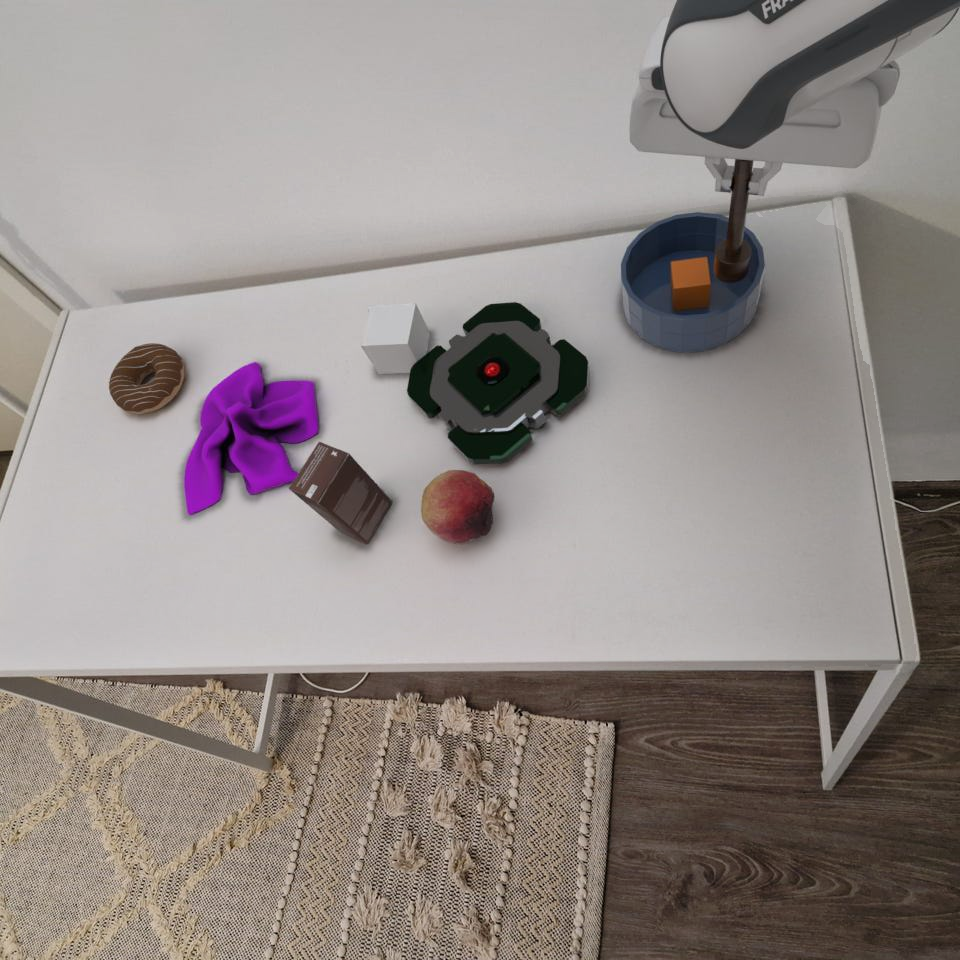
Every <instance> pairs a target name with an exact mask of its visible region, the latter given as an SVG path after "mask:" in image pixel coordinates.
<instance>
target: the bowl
mask: <svg viewBox="0 0 960 960" xmlns="http://www.w3.org/2000/svg"><path fill="white" fill-rule="evenodd" d="M728 221H729V216H725V215H722V214H719V213H710V212H702V211H695V212H687V213H680V214H674V215H671V216H669V217H666V218H663V219H661V220H658V221H656V222H654V223H653V224H651V225H649V226H648V227H646V228H645V229H643V230H642V231H640V232H639V233H638V234H637V235H636V236H635V238H634V239H633V240H632V241H631V242H630V244H629V245H628V246H627V247H626V249H625V251H624V255H623V256H622V259H621V261H620V281H621V295H622V307H623V312H624V315H625V318H626V320H627V321H626V322H627V323H628V325H629V327H630V328H631V329H632V331H633V332H634V333H635V334H636V335H637V336H638V337H639V338H641V340H643V341H645V342H647V343H648V344H650V345H652V346H654V347H656V348H659V349H662V350H666V351H669V352H675V353H676V352H677V353H678V352H679V353H695V352H696V353H697V352H698V353H699V352H702V351H703V352H704V351H708V350H711V349H715V348H717V347H720V346H722V345H725V344H726V343H729V342H730V341H731V340H733V339H734V338H736V337H737V336H739V335H740V334H741V333H742V332H743V331H744V330H745V329H746V328H747V327H748V326H749V324H750V323H751V321H752V319H753V318H754V317H755V314H756V311H757V309H758V303H759V301H760V298H761V297H760V296H761V291H762V285H763V279H764V274H765V269H766V261H765V253H764V248H763V246H762V244H761V243H760V241H759V239H758V238H757V236H756V234H755V233H754V232H753V231H752V230H750V228H748V227H747V226H745V228H744V235H743V240H745V241H747V242H748V243H749V244H750V246H751V250H752V251H751V258H750V264H749V271H748V274H747V276H746V277H745V278H744V279H742V280H741V281H739V282H735V283H725V282H722V281H720V280H718V279H717V278H716V277H715V275H714V260H715V250H716V247H717V246H718V244H719V243H721V242H722V241H724V240H726V239H727V230H728ZM702 257H707V259H708V267H709V274H710V281H711V288H710V301H709V307H706V308H698V309H689V310H681V311H673V303H672V294H671V262H672V261H680V260H687V259H695V258H702Z"/></svg>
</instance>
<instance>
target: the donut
mask: <svg viewBox="0 0 960 960" xmlns="http://www.w3.org/2000/svg"><path fill="white" fill-rule="evenodd" d="M153 372H154V373H155V376H154V377H153V379H152V380H151V381H149V382H147V383H145V384H144V383H143V384H141V383H142V381H143V380H144V379H145V378H146V377H147V376H148V375H150V374H151V373H153ZM184 379H185V366H184V362H183V358H182V357H181V356H180V355H179V354H178V352H177V351H176V350H174V349H173V348H171V347H169V346H167V345H165V344H163V343H155V342H153V343H152V342H151V343H144V344H140V345H136V346H134V347H133V348H132V349H130V350H129V351H128V352H127V353H125V354H124V355H123V356H122V357H121V358H120V360H119V361H118V362H117V364H116V365H115V367H114V369H112V372H111V374H110V377H109V381H108V390H109V395H110V396H111V398H112V400H113V401H114V403H115V404H116V406H117V407H119V408H121V409H122V410H123V411H124V412H128V413H132V414H148V413H153V412H154V411H157V410H160V409H162V408H163V407H164V406H166V405H168V403H170V402H171V401H172V400H173V399H174V398H175V397H176V396H177V394H178V393H179V391H180V390H181V387H182V385H183V382H184Z"/></svg>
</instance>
